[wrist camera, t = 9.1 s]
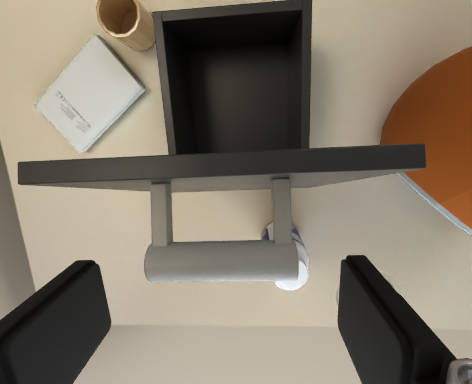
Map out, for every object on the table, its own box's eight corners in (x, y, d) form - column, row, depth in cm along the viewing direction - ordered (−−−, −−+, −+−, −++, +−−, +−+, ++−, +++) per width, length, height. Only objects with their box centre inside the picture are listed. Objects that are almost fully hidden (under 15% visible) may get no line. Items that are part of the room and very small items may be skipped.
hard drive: (147, 90, 33) (86, 152, 35) (101, 37, 32) (41, 105, 34) (142, 88, 31) (78, 153, 34) (93, 32, 30) (31, 104, 32)
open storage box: (182, 46, 31) (152, 11, 22) (293, 38, 30) (312, -3, 21) (193, 171, 35) (172, 187, 26) (292, 167, 34) (308, 182, 25)
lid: (17, 161, 9) (18, 303, 9) (425, 142, 8) (433, 301, 8) (170, 184, 25) (172, 233, 25) (309, 179, 24) (311, 230, 24)
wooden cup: (117, 10, 31) (92, -12, 26) (154, 7, 30) (136, -16, 26) (123, 52, 32) (100, 38, 27) (159, 49, 31) (142, 35, 27)
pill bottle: (275, 260, 38) (284, 304, 28) (253, 233, 37) (254, 270, 27) (306, 240, 37) (325, 279, 27) (284, 212, 36) (296, 243, 26)
